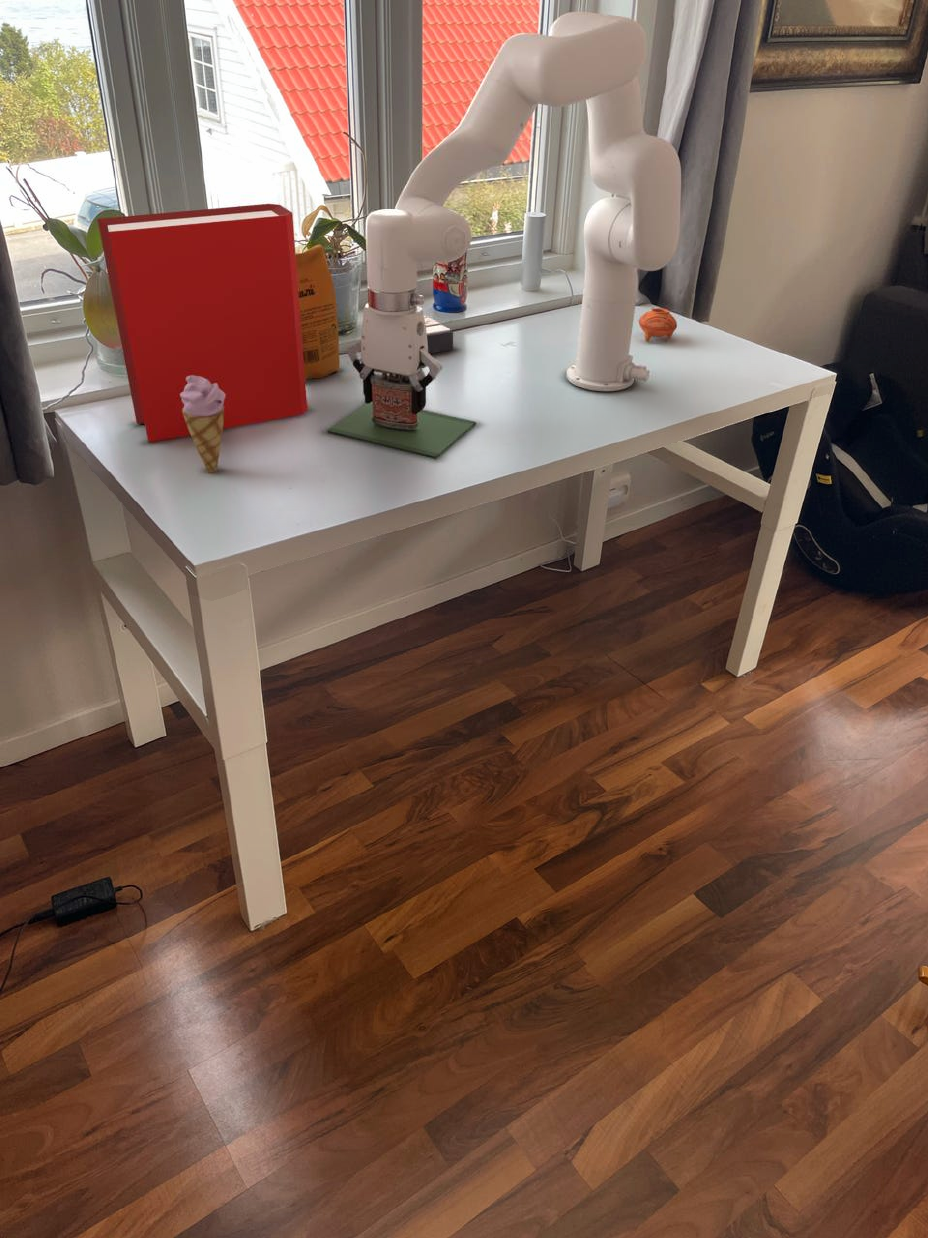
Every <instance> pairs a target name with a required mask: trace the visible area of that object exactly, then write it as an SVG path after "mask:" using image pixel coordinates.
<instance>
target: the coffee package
mask: <svg viewBox="0 0 928 1238" xmlns="http://www.w3.org/2000/svg"><path fill="white" fill-rule="evenodd" d="M295 253H296V266H297V279H298V292H299V305H300V318H301V331H302V344H303V357H304V370H305V380H308V379H322V378H325V377H326V376H327V377H328V376H329V375H331V374H333V373H335V372H338V371H339V370H340V369H341V368H340V367H341V366H340V364H341V363H340V362H341V361H340V339H339V319H338V305H337V304H338V303H337V296H336V289H335V284H334V281H333V278H332V273H331V271H330V269H329V264H328V259H327V257H326V256H327V255H326V253H325V250H324V247H323V245H322V244H316V245H314V246H312V247H311V248H309V249H307V250H305V251H303V252H299V253H297V252H295Z"/></svg>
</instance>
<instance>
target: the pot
mask: <svg viewBox="0 0 928 1238" xmlns="http://www.w3.org/2000/svg"><path fill="white" fill-rule="evenodd" d="M638 325H639V327H640V329H641V331H643V332H644V340H645V342H646V343H649V342H650V340H651V337H653V338H663V337H667V338H666V341H669V340H671V338H672V336H673V334H674V333H675V330H677V328H678V323H677V320H676V319H675V317H674V316H673V315H672V314H671V313H670V311H669V310H668V309H666V308H662V307H656V308H653V307H652V308H651V310H649V311H647V312H645V313H643V314H642V315H641V316H640V317H639V319H638Z"/></svg>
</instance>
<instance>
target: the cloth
mask: <svg viewBox="0 0 928 1238" xmlns="http://www.w3.org/2000/svg"><path fill="white" fill-rule="evenodd" d="M372 415H373V401H372V402H371V403H369V404H367V403H365V404H364V405H362V406H361V407H359V408H358V409H356V410H355V411H353V412H352V413H350V414H349V415H348V416H346V417H345V418H344V419H342V420H341V421H339V422H338V423H336V424H334V425H333V426H332V427H330V428H328V430H326V431H327V432H326V433H327V434H331V435H336V436H338V437H339V436H340V437H343V438H349V439H352V440H356V441H359V442H364V443H369V444H372V445H377V446H381V447H386V448H389V449H393V450H396V451H397V450H398V451H402V452H405V453H410V454H414V455H417V456H423V457H425V458H430V459H435V460H436V459H438V457H440V456H441V455H443V454H444V452H446V451H447V450H448V449H449V448H450V447H451V446H452V445H453V444H455V443H456V442H457V441H458V440H459V439H460V438H462V437H463V436H464V435H465V434H466V433H468V431H470V430H471V429H472V428H474V426H475V425H476V424H477V422H476V421H474V420H469V419H466V418H460V417H457V416H451V415H447V414H442V413H439V412H434V411H429V410H424V409H423V410H421V411H420V412H419V413H417V419H418V427H417V428H415V429H401V428H393V427H388V426H383V425H379V424H376V423H373V422H372Z"/></svg>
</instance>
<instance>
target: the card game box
mask: <svg viewBox="0 0 928 1238" xmlns="http://www.w3.org/2000/svg"><path fill="white" fill-rule="evenodd" d="M424 319H425V325H426V332H427V343H428V353H429V354H434V353H440V352H445V351H451V350H454V331H453V330H451V329H450V328H449V327H446V326H445V325H443V324H441V323H440V322H439V321H437V320H435V319H433V318H431V317H428V316H427V315H425V314H424Z"/></svg>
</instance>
